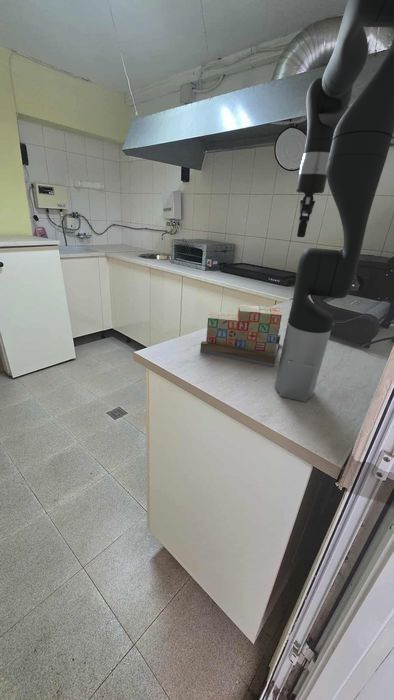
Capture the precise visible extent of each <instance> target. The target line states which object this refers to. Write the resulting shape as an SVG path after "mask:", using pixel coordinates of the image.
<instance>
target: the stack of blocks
mask: <svg viewBox="0 0 394 700" xmlns="http://www.w3.org/2000/svg"><path fill="white" fill-rule="evenodd" d="M237 308H238V309H237V313H233V312H232V313H231V312H219V311H209V312H208V316H207V326H206V327H207V329H206V341H205V342H210V343H215V344H220V345H226V346H231V347H236V348H241V349H249V350H257V351H266V352H275V348H276V342H277V338H278V335H280V330H281V323H282V322H281V321H282V316H283V314H282V312H281V310H280V309H279V308H278V307H277V308H275V307H269V306H264V305H263V306H262V305H259V306H257V305H248V304H239V305H238V307H237Z"/></svg>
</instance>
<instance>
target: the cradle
mask: <svg viewBox="0 0 394 700" xmlns="http://www.w3.org/2000/svg"><path fill="white" fill-rule="evenodd" d="M281 336H282V335H281V334H278V338H277V342H276V348H275V352H266V351H257V350H249V349H241V348H236V347H231V346H226V345H220V344H215V343H210V342H206V341H205V340H202V341H201V342H200V348H199V349H200V350H199V352H200V353H204V354H209V355H213V356H219V357H223V358H228V359H232V360H237V361H242V362H247V363H250V364H251V363H253V364H256V365H257V364H258V365H262V366H267V367H272V368H274V367H275V363H276V357H277V353H278V348H279V345H280V341H281Z"/></svg>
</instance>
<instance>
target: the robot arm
mask: <svg viewBox="0 0 394 700" xmlns="http://www.w3.org/2000/svg"><path fill="white" fill-rule="evenodd" d="M341 19H342V20H341V24H340V27H339V31H338V35H337V39H336V43H335V46H334V49H333V52H332V54H331V56H330V59H329V61H328V63H327V66H326V68H325V70H324V73H323V76H322V77H317V78H315V79H314V80H313V81H312V82H311V84H310V86H309V88H308V89H307V92H306V93H307V94H306V98H305V102H306V104H305V106H306V117H307V119H306V120H307V121H306V122H307V123H306V124H307V126H306V127H307V129H306V131H307V132H306V138H305V145H304V149H303V150H304V151H303V155H302V158H301V159H302V160H301V161H300V162H301V163H300V167H299V173H298V179H297V183H296V185H297V186H296V189H295V190H296V193H298V194H300V193H301V194H304V196H303V198H302V199H301V200H300V201H299V202H300V203H299V211H298V216H299V218H298V228H297V234H296V237H297V238H304V237H305V236H306V232H307V228H308V224H309V222H310V217H312V213H313V209H314V207H315V203H316V200H314V195H315V194H323V193H324V192H325V188H326V182H327V184H328V186H329V190H330V192H331V193H330V194H331V195H332V198H333V201H334V203H335V205H336V209H337V211H338V213H339V214H338V215H339V218H340V221H341V227H342V230H343V231H342V232H343V245H342V247H343V248H342V250H339V249H328V248H327V249H326V248H317V247H309V248H306V249H304V251H302V253H301V255H300V258H299V260H298V263H297V269H296V274H295V275H296V276H295V282H294V283H295V284H294V289H293V294H292V295H293V296H292V302H291V307H290V311H289V315H288V319H287V323H286V324H287V325H286V330H285V334H284V339H283V343H282V347H281V348H282V349H281V352H280V358H279V362H278V367H277V373H276V378H275V383H274V388H275V390H276V391H277V392H278V393H279V395H278V396H279V397H282V398H287V399H292V400H296V401H300V402H304V403H307V401H308V399H311V398H312V397H313V395H314V393H315V388H316V385H317V381H318V378H319V374H320V371H321V367H322V364H323V360H324V357H325V352H326V349H327V346H328V343H329V338H330V336H331V332H332V329H333V326H334V325H333V324H334V319H335V318H334V316H333V314H331V313H330V312H329V311H327V310H325V309H324V308H322V307H320V306H319V305H317V304H315V303H314V302H313V301H312V300H311V299H310V298H309V296H317V297H323V298H332V299H344V298H346V297H347V296H348V295H349V293H350V291H351V290H352V287H353V284H354V282H355V278H356V275H357V270H358V267H359V266H358V265H359V262H360V256H361V254H362V253H361V252H362V248H363V244H364V239H365V238H364V237H365V235H366V234H365V233H366V230H367V226H368V221H369V217H370V213H371V209H372V206H373V203H374V199H375V196H376V193H377V189H378V187H379V183H380V180H381V177H382V174H383V170H384V167H385V164H386V161H387V157H388V153H389V150H390V147H391V143H392V139H393V137H394V136H393V135H394V37H393V38H392V41H391V44H390V47H389V49H388V51H387V53H386V55H385V57H384V58H383V61H382V62H381V64H380V65H379V66H378V68H377V70H376V71H375V73H374V74H373V76H372V77H371V78H370V80H369V81H368V83H366V85H365V86H364V88H363V89H362V90H361V91H360V93H359V94H358V95H357V96H356V97H355V98H354V100H353V101H352V103H350V102H351V97H352V93H353V86H354V83H355V82H356V80H357V79H358V78H359V76H360V75H361V72H362V71H363V69H364V66H365V65H366V62H367V59H368V55H369V42H368V37H367V34H366V31H365V28H394V0H347V3H346V7H345V9H344V12H343V16H342V18H341ZM349 104H350V105H349ZM347 107H348V108H347ZM342 113H344V114H343V115H342V117H341V118H340V120H339V121H338V122H337V125H336V126H335V127H334V126H332V125H329V124H326V123H324V122H322V121H321V119H320V116H337V115H340V114H342Z"/></svg>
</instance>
